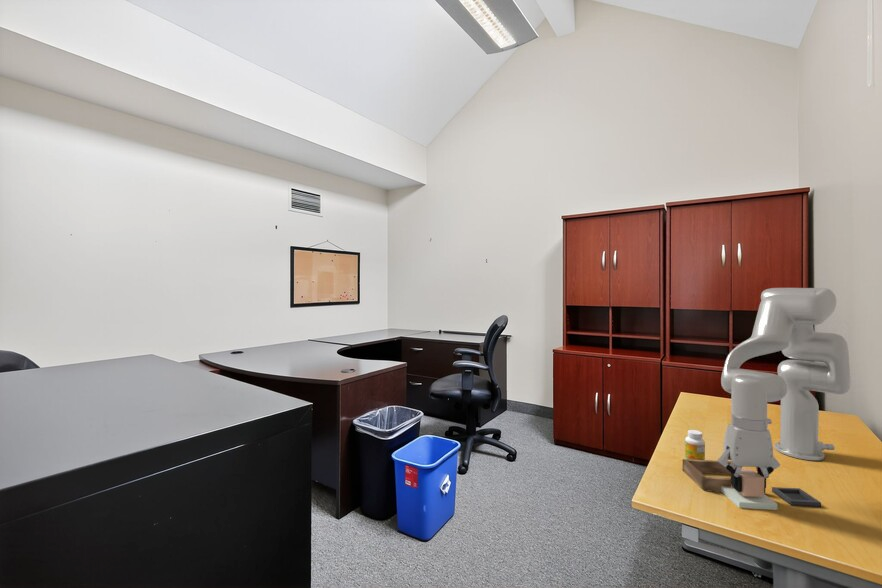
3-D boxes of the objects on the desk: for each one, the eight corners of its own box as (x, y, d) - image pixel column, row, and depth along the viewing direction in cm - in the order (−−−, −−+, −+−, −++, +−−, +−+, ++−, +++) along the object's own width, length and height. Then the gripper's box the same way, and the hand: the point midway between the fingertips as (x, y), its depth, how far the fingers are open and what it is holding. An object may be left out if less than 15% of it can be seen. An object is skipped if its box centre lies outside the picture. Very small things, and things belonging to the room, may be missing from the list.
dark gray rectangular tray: (799, 492, 108) (799, 488, 108) (821, 507, 101) (821, 502, 101) (771, 491, 109) (772, 487, 109) (791, 505, 102) (791, 501, 102)
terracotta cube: (750, 486, 107) (750, 468, 107) (764, 496, 102) (764, 477, 102) (731, 486, 107) (731, 468, 107) (744, 496, 102) (744, 477, 102)
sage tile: (756, 493, 108) (756, 487, 108) (777, 509, 100) (777, 504, 100) (721, 491, 109) (721, 486, 109) (739, 507, 101) (739, 502, 101)
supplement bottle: (681, 458, 130) (681, 429, 130) (696, 457, 130) (696, 428, 130) (693, 465, 125) (693, 435, 124) (708, 464, 125) (709, 434, 125)
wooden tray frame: (734, 472, 120) (734, 461, 120) (762, 493, 108) (762, 481, 108) (682, 470, 121) (682, 459, 121) (703, 490, 109) (703, 478, 109)
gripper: (773, 418, 107) (772, 484, 107) (706, 417, 109) (706, 481, 109) (794, 428, 99) (794, 499, 100) (722, 426, 101) (722, 495, 102)
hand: (748, 489), depth 104 cm, fingers closed on terracotta cube, 5 cm apart
